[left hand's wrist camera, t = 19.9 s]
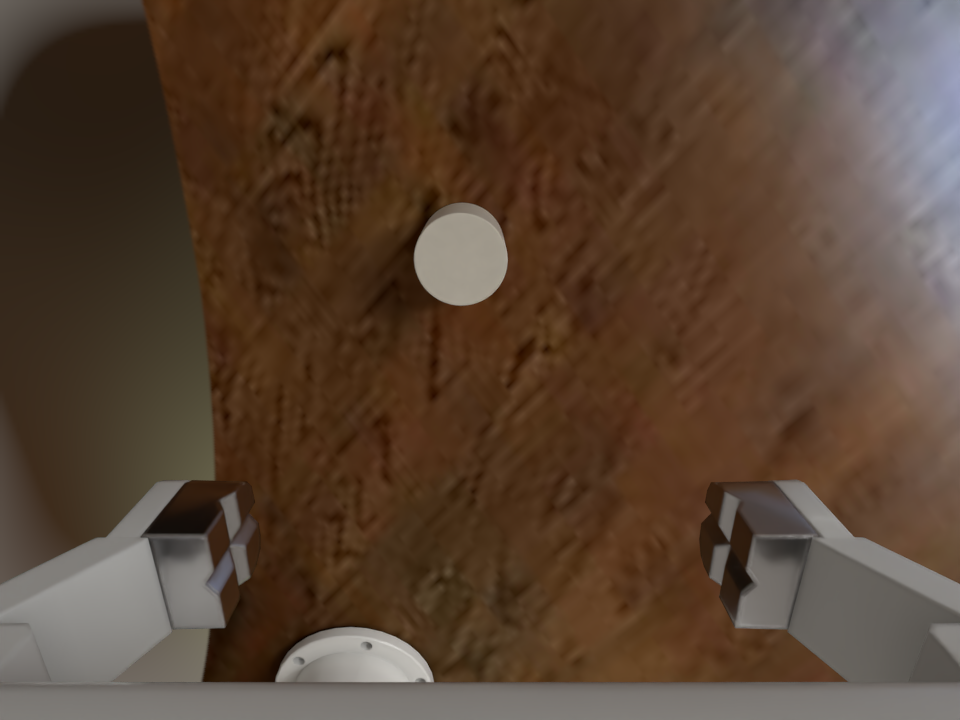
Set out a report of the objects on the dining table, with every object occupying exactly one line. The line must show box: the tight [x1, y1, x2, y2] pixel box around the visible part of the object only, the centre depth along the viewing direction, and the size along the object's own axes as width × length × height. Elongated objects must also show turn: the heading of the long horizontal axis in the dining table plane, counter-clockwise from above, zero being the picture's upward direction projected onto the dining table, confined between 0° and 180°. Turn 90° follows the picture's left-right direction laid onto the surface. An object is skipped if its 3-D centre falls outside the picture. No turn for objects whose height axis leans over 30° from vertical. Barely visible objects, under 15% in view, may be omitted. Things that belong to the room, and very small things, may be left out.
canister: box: [414, 203, 508, 306], centre depth 32 cm, size 5×5×4 cm
